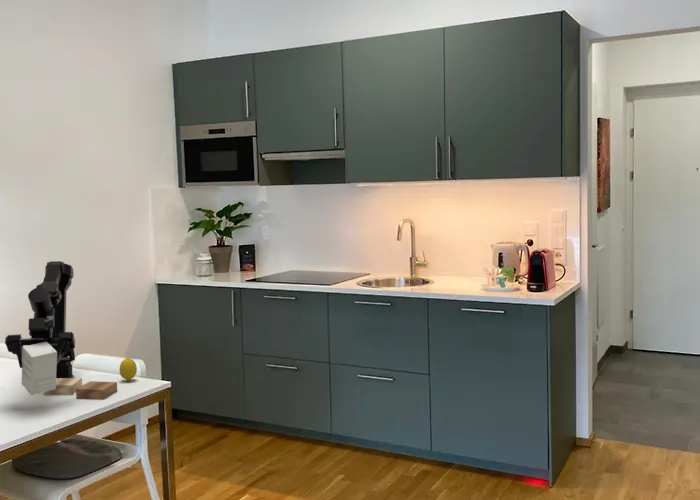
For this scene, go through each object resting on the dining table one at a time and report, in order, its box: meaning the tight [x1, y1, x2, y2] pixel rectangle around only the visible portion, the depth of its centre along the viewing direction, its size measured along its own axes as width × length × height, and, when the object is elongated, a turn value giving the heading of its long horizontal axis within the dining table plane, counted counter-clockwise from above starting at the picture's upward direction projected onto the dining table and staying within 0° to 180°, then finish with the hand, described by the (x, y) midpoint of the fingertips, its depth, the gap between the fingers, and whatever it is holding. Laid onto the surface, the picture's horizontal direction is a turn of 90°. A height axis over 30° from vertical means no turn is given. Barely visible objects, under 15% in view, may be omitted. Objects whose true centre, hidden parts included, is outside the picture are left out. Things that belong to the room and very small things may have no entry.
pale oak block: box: [43, 377, 83, 396], centre depth 229 cm, size 9×9×3 cm
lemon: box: [119, 357, 138, 382], centre depth 240 cm, size 6×6×8 cm
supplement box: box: [21, 342, 57, 396], centre depth 208 cm, size 7×7×13 cm
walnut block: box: [75, 380, 118, 400], centre depth 224 cm, size 9×9×3 cm
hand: (37, 366), depth 208 cm, fingers closed on supplement box, 9 cm apart
